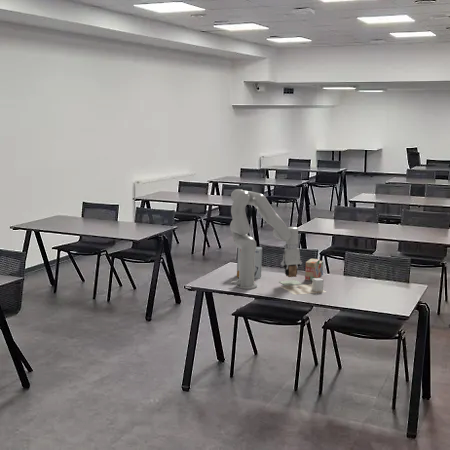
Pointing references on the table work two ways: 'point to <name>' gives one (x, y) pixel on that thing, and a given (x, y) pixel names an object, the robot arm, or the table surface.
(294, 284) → the mat
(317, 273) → the stack of blocks
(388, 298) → the table surface
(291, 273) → the walnut block
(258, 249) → the hard drive box
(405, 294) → the table surface
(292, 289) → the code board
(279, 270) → the table surface
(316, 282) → the pale grey block
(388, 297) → the table surface
